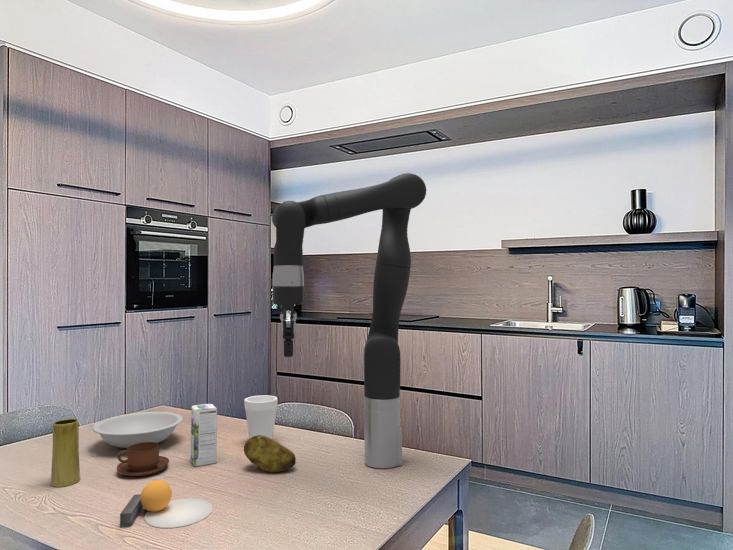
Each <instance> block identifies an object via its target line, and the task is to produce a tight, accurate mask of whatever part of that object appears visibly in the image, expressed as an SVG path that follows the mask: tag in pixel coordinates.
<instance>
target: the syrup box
mask: <svg viewBox="0 0 733 550" xmlns="http://www.w3.org/2000/svg"><path fill="white" fill-rule="evenodd" d="M190 415H191V416H190V417H191V419H190V462H191V463H192V465H193V467H196V468H197V467H200V466H201V467H202V466H207V465H211V464H216V463H217V459H218V458H217V457H218V455H217V453H218V451H217V447H218V446H217V445H218V441H217V440H218V439H217V438H218V434H217V433H218V408H217V407H216V406H215V405H214V404H212V403H202V404H195V405H191V413H190Z"/></svg>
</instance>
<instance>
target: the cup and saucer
mask: <svg viewBox="0 0 733 550" xmlns="http://www.w3.org/2000/svg"><path fill="white" fill-rule="evenodd" d="M122 454H126V456H127V459H122V457H121V455H122ZM117 460H118V461H119V462H120V463H118V464H117V466H116V470H117V472H118V473H119V474H121V475H123V476H128V477H143V476H148V475H153V474H155V473H158V472H160V471H162V470H163V469H165V468H166V467H167V466H168V465H169V463H170V459H169V458H168V457H166V456H162V455H160V444H159V443H155V442H144V443H138V444H134V445H131V446H129V447H128V448H126V450H125V449H124V450H120V451H119V453H118V454H117Z"/></svg>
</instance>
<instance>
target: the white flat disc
mask: <svg viewBox="0 0 733 550" xmlns="http://www.w3.org/2000/svg"><path fill="white" fill-rule="evenodd" d="M212 512H213V505H212V504H211V503H210V501H208V500H205V499H200V498H178V499H173V500H170V502H169V504H168V505H167V506H166V507H165V508H164V509H162V510H160V511H157V512H151V511H148V510H147V512H146V513H145V515H144V522H145V523H146V524H147V525H149V526H151V527H154V528H158V529H175V528H182V527H187V526H191V525H194V524H196V523H199V522H201V521H203V520H205V519H206V518H207V517H209V516H210V515H211V514H212Z"/></svg>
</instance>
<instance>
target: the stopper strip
mask: <svg viewBox="0 0 733 550" xmlns="http://www.w3.org/2000/svg"><path fill="white" fill-rule="evenodd" d="M140 496H141V493H139V494H138V493H137V494H133V496H132V497H131V499H130V500H128V502H127V504H126V506H125V507H123V510H121V512H120V513H119V527H120V528H122V527H124V528H125V527H132V526H133V524H134V523H135V521H136V519H137V518H138V517H139V516H140V513H141V512H142V510H143V509H144V507H143V506H142V504H141V501H140Z"/></svg>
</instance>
